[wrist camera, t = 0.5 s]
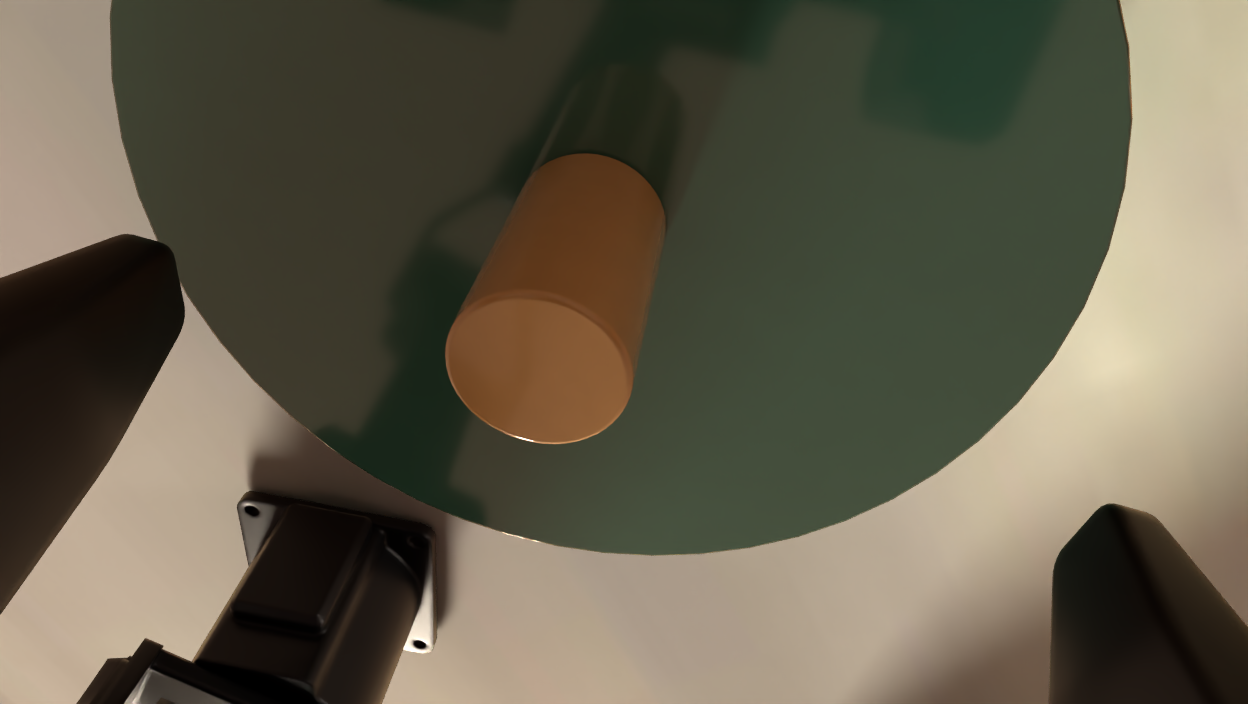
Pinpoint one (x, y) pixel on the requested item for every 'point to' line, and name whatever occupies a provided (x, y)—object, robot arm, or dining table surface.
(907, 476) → the pot lid
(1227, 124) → the dining table surface
